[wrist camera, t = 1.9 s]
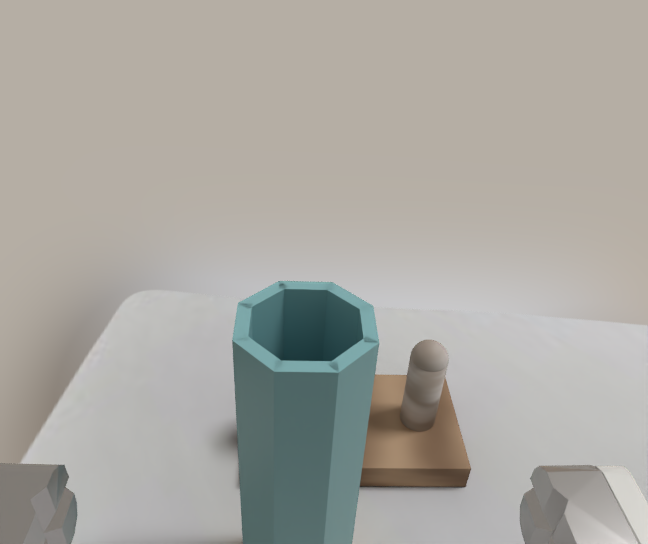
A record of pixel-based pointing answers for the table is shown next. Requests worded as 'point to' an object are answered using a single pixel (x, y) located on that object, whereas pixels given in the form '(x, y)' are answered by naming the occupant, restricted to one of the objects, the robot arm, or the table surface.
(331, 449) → the sleeve
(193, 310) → the table surface
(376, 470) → the pin board
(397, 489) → the table surface
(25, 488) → the robot arm
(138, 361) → the table surface
